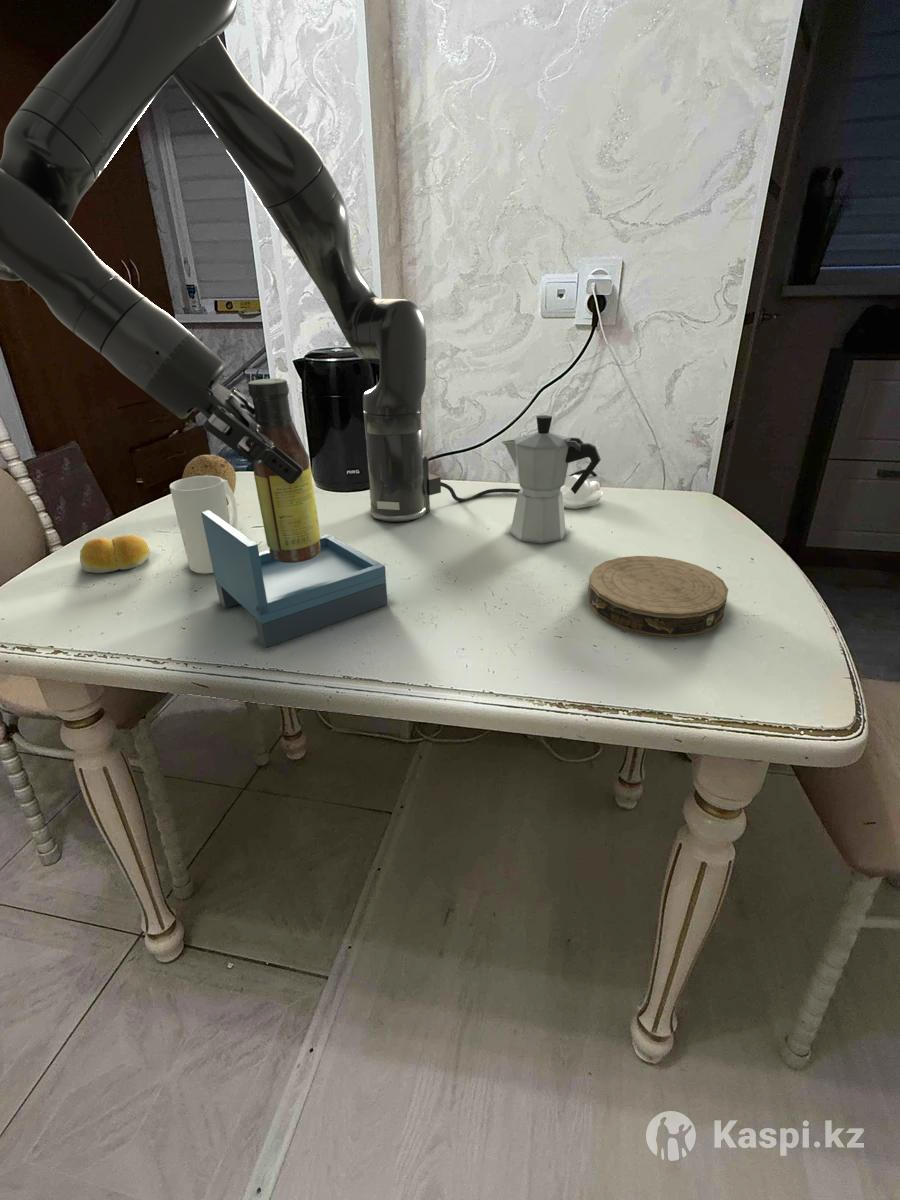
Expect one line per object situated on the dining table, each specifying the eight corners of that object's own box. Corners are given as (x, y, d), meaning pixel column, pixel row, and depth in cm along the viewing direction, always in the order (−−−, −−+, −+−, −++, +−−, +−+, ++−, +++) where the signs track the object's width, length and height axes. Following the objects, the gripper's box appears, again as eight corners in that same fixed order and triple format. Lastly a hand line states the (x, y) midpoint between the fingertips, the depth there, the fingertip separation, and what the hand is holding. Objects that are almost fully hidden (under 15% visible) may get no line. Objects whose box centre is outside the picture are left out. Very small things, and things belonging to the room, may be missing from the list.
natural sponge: (191, 524, 104) (178, 464, 99) (183, 509, 111) (170, 453, 106) (246, 514, 108) (236, 457, 103) (235, 500, 115) (225, 446, 110)
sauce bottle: (331, 548, 76) (314, 377, 67) (304, 568, 71) (282, 386, 62) (285, 541, 78) (262, 375, 69) (255, 561, 73) (227, 383, 64)
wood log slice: (560, 599, 78) (562, 577, 76) (641, 566, 86) (644, 546, 85) (670, 653, 66) (674, 628, 65) (750, 608, 75) (755, 586, 73)
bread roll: (154, 566, 89) (147, 540, 87) (83, 579, 85) (74, 552, 83) (149, 546, 95) (143, 522, 93) (83, 558, 91) (75, 532, 90)
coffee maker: (490, 537, 96) (492, 418, 88) (507, 519, 104) (510, 407, 95) (587, 550, 91) (598, 425, 83) (597, 530, 99) (609, 413, 90)
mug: (216, 577, 85) (198, 492, 79) (177, 571, 87) (157, 487, 81) (261, 550, 93) (248, 471, 88) (225, 545, 95) (210, 467, 90)
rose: (614, 474, 111) (590, 487, 104) (612, 498, 113) (588, 513, 106) (564, 465, 116) (538, 478, 109) (562, 488, 118) (536, 502, 111)
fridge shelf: (332, 568, 87) (323, 485, 81) (387, 604, 77) (381, 512, 72) (219, 602, 78) (200, 511, 73) (266, 648, 68) (248, 546, 63)
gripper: (172, 336, 56) (320, 460, 63) (199, 326, 68) (320, 430, 76) (124, 400, 57) (273, 514, 65) (159, 378, 70) (281, 476, 77)
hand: (298, 468), depth 70 cm, fingers closed on sauce bottle, 6 cm apart
